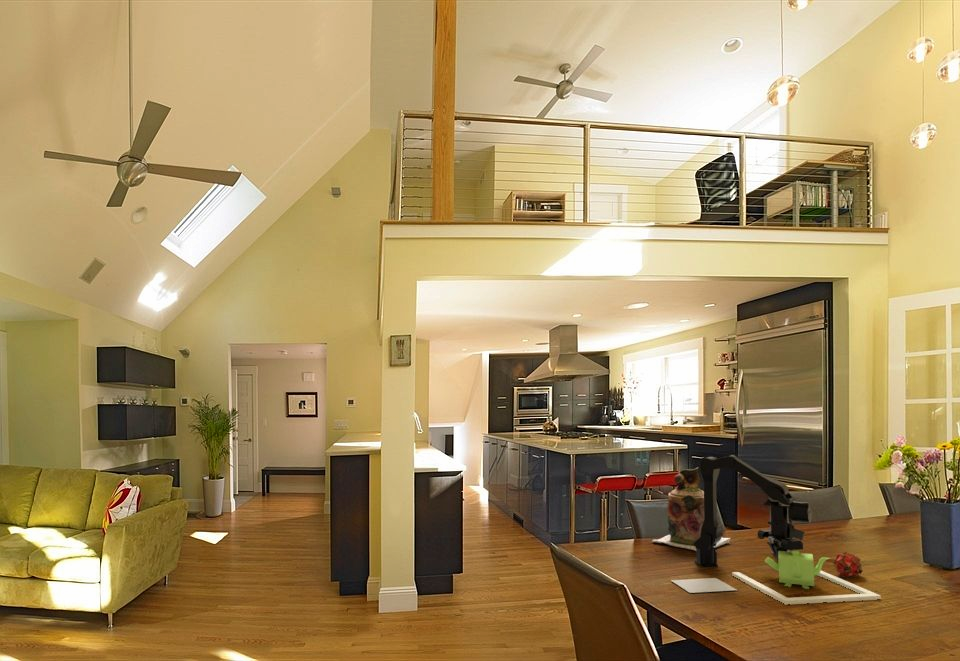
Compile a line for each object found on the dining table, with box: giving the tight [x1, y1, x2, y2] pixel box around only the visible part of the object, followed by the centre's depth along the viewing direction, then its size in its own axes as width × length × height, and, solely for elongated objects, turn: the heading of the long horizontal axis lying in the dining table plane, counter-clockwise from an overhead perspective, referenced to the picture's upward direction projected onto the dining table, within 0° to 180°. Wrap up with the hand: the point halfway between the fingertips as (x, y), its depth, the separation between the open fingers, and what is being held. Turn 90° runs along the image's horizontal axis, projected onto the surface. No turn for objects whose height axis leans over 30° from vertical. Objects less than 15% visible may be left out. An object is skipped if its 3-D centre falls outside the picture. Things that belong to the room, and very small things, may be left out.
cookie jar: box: [651, 467, 731, 552], centre depth 284 cm, size 25×25×32 cm
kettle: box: [764, 550, 831, 590], centre depth 224 cm, size 15×14×11 cm
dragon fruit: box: [833, 551, 863, 578], centre depth 235 cm, size 8×8×12 cm
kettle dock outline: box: [731, 570, 882, 606], centre depth 222 cm, size 32×31×1 cm
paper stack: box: [670, 577, 738, 594], centre depth 218 cm, size 23×25×1 cm
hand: (780, 564), depth 234 cm, fingers closed
